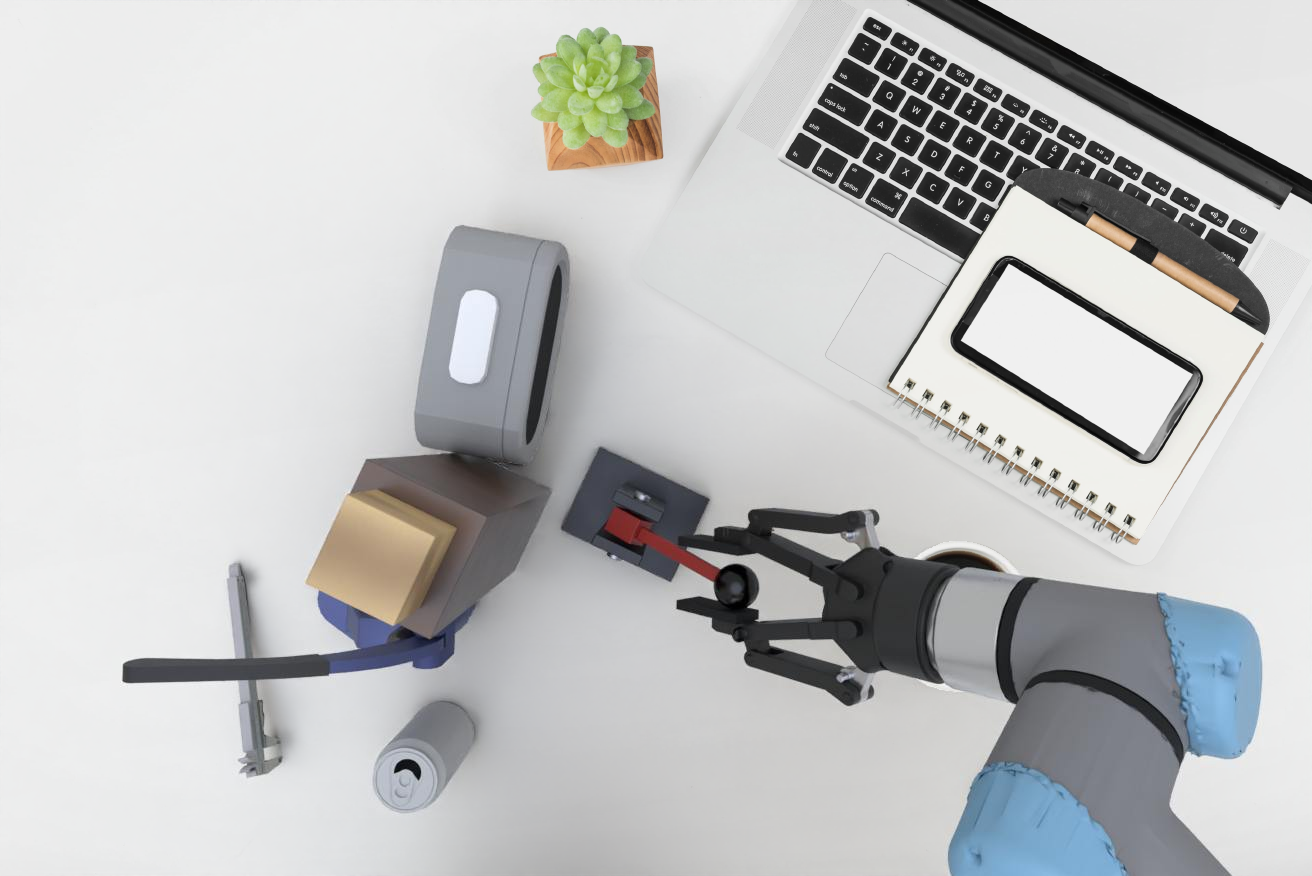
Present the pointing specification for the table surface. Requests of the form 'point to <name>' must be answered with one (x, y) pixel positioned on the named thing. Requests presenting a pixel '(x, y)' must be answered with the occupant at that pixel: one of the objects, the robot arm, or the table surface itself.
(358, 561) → the jaw block
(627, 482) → the toggle clamp
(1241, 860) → the table surface
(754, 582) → the clamp lever
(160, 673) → the clamp
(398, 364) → the table surface
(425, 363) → the alarm clock
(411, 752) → the beverage can
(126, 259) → the table surface
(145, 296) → the table surface
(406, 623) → the dark brown block
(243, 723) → the caliper
